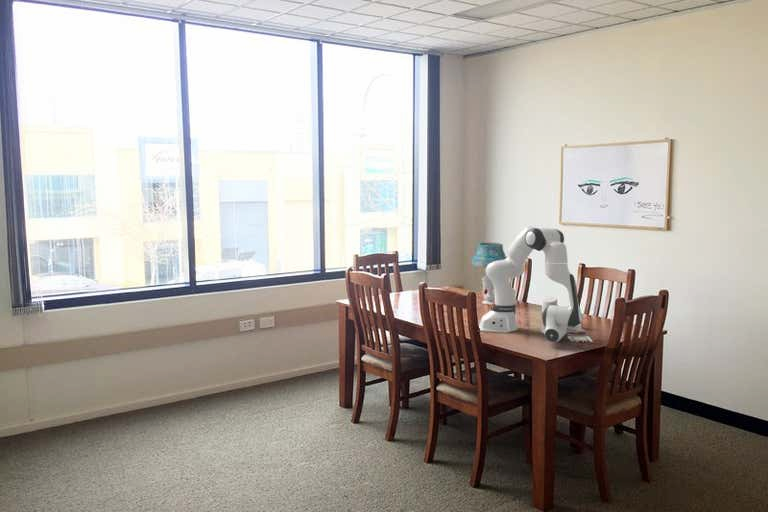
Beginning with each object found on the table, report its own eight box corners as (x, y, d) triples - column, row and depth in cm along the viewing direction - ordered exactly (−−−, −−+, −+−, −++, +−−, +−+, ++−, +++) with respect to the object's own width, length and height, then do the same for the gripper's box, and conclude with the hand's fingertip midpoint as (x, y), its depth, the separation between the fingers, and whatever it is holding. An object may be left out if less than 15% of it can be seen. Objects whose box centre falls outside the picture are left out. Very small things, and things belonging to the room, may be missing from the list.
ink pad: (569, 334, 342) (569, 331, 342) (566, 330, 349) (566, 328, 349) (586, 334, 341) (586, 331, 341) (583, 331, 348) (583, 328, 348)
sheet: (571, 341, 327) (571, 340, 327) (567, 336, 337) (567, 335, 337) (592, 341, 326) (592, 341, 326) (588, 336, 336) (588, 336, 336)
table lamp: (466, 300, 433) (467, 242, 427) (500, 299, 437) (501, 241, 432) (478, 308, 409) (479, 246, 404) (513, 306, 414) (514, 245, 408)
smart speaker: (537, 320, 374) (538, 297, 372) (549, 318, 378) (550, 295, 376) (548, 323, 366) (549, 299, 364) (561, 322, 370) (561, 298, 368)
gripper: (579, 324, 323) (584, 318, 335) (539, 320, 332) (545, 315, 344) (578, 336, 324) (583, 330, 336) (538, 332, 333) (544, 326, 345)
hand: (563, 322), depth 340 cm, fingers closed on stamp, 3 cm apart
